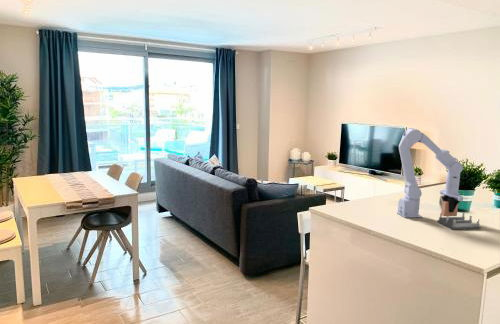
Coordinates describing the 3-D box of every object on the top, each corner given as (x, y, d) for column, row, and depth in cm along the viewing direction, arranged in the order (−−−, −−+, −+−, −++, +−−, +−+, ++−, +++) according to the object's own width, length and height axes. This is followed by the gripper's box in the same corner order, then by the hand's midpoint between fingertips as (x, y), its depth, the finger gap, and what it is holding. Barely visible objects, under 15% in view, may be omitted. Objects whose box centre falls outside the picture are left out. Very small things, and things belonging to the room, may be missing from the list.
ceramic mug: (441, 205, 215) (442, 192, 213) (457, 207, 210) (458, 194, 208) (436, 209, 207) (438, 195, 205) (453, 212, 202) (454, 198, 200)
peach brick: (443, 216, 187) (445, 202, 186) (440, 214, 190) (442, 201, 188) (456, 216, 188) (458, 202, 187) (453, 214, 191) (455, 201, 190)
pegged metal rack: (452, 229, 171) (454, 220, 171) (437, 222, 182) (438, 213, 182) (480, 229, 174) (481, 219, 173) (463, 221, 184) (464, 212, 184)
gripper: (470, 188, 180) (466, 215, 182) (449, 181, 194) (446, 207, 196) (456, 188, 179) (453, 215, 181) (437, 181, 193) (434, 207, 195)
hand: (449, 211), depth 189 cm, fingers closed on peach brick, 2 cm apart
